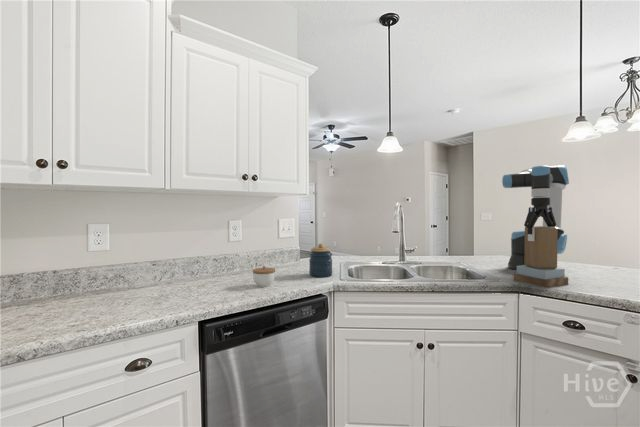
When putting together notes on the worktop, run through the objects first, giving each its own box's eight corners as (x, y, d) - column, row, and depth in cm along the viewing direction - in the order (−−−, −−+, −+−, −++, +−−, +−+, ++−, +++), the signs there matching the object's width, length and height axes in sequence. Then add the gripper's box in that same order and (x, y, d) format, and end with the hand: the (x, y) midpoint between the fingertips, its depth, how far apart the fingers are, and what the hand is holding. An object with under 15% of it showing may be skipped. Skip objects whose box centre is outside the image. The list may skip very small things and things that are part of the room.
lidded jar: (264, 289, 141) (264, 269, 141) (248, 286, 147) (247, 266, 146) (279, 284, 150) (279, 265, 150) (263, 281, 156) (263, 263, 156)
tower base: (534, 278, 163) (534, 271, 162) (568, 285, 148) (568, 277, 148) (513, 281, 157) (513, 273, 157) (546, 288, 142) (546, 280, 142)
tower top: (535, 271, 161) (535, 264, 161) (564, 277, 148) (564, 268, 148) (516, 273, 156) (516, 265, 156) (545, 279, 143) (545, 271, 143)
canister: (327, 272, 179) (327, 242, 179) (335, 276, 167) (335, 244, 167) (306, 273, 175) (306, 242, 175) (313, 278, 163) (312, 245, 163)
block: (542, 265, 157) (543, 226, 157) (558, 269, 147) (558, 227, 147) (523, 265, 157) (523, 226, 157) (537, 269, 147) (538, 227, 147)
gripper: (548, 197, 160) (548, 238, 160) (515, 197, 150) (515, 240, 151) (564, 197, 153) (564, 239, 153) (531, 197, 143) (531, 242, 144)
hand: (540, 240), depth 152 cm, fingers open, 13 cm apart
